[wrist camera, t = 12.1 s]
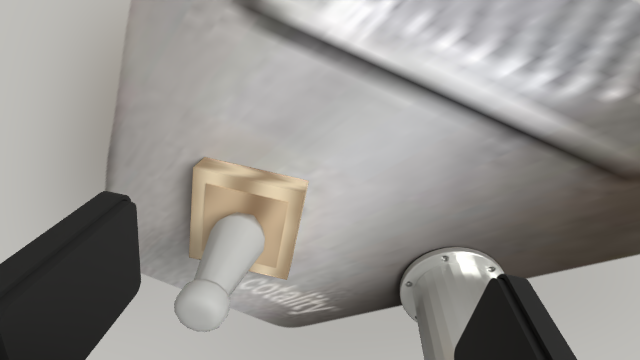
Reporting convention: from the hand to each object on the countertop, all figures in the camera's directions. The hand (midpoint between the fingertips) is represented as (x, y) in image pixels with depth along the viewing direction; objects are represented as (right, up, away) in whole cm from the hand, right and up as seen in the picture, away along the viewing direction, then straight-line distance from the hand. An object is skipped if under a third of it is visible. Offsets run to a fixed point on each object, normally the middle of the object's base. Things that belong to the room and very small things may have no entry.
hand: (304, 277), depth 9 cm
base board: (-8, -1, +33) cm, 34 cm away
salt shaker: (-8, -3, +30) cm, 32 cm away
